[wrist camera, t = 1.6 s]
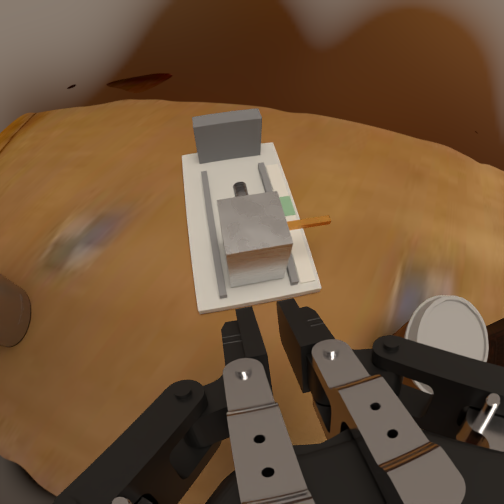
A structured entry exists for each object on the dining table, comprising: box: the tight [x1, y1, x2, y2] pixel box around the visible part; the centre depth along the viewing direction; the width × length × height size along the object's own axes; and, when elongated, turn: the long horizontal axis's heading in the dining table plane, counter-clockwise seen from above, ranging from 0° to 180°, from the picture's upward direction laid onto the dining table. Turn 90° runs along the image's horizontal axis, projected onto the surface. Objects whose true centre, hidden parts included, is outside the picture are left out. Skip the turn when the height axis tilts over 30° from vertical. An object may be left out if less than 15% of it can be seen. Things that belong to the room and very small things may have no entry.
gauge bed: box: [182, 109, 321, 314], centre depth 36 cm, size 14×24×8 cm, turn 11°
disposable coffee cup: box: [393, 295, 489, 394], centre depth 25 cm, size 10×10×12 cm
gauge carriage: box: [217, 182, 331, 287], centre depth 33 cm, size 11×11×8 cm
